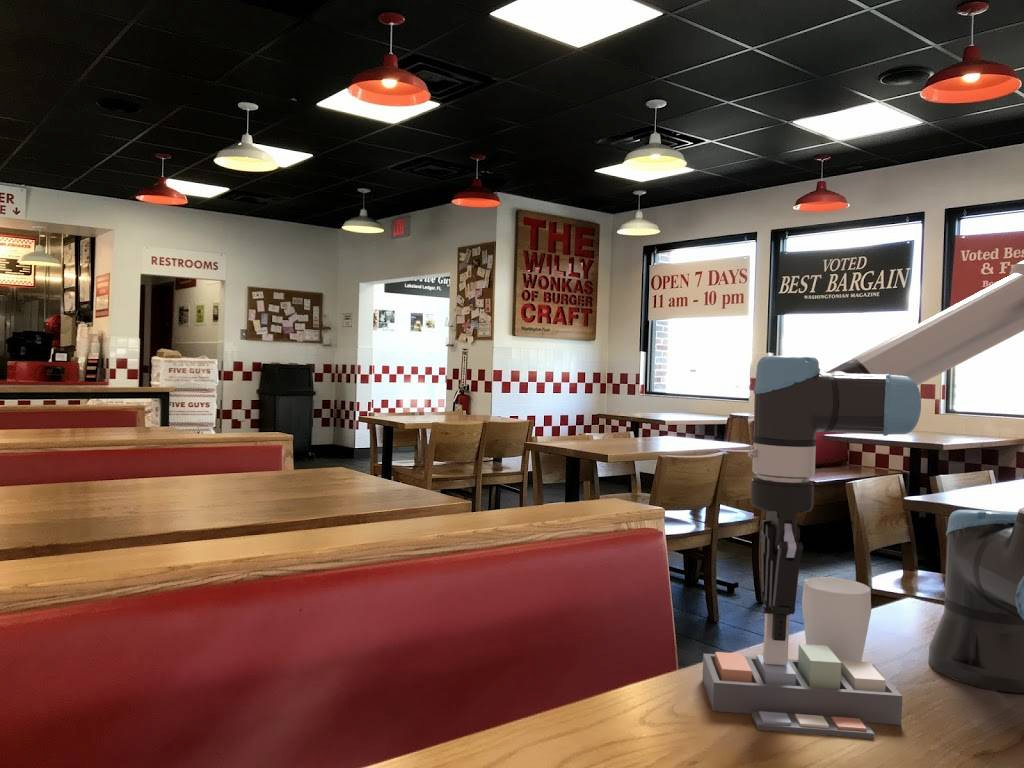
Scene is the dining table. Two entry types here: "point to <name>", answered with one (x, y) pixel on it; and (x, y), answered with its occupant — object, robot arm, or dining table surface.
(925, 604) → the dining table surface
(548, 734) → the dining table surface
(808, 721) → the strip
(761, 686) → the keypad
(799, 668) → the key sage
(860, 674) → the key ivory
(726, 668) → the key terracotta
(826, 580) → the cup
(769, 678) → the key slate
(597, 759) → the dining table surface
